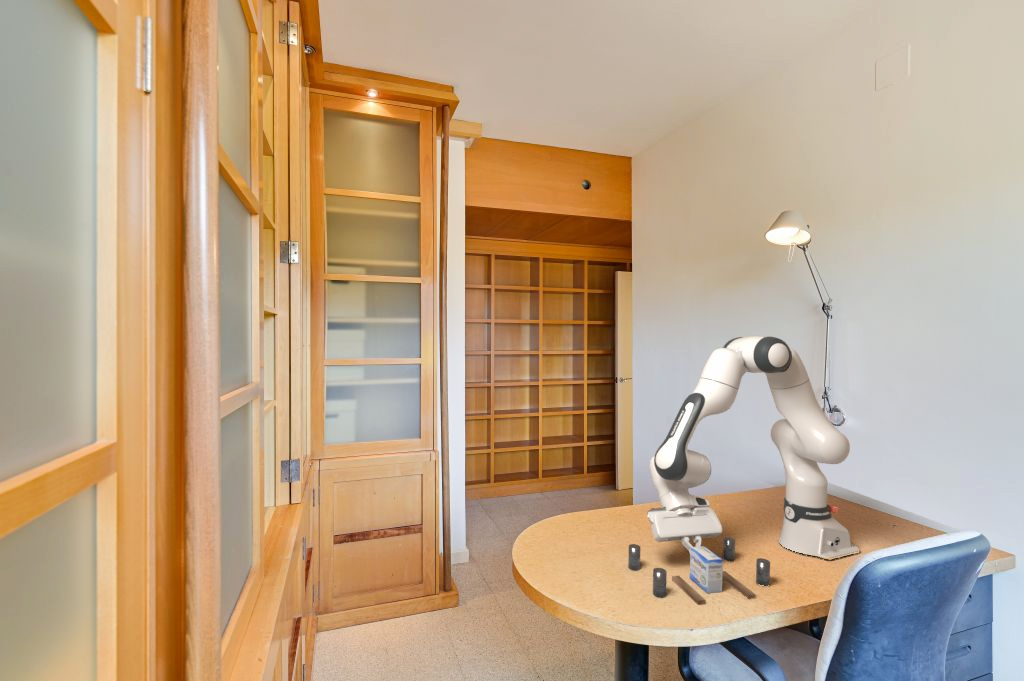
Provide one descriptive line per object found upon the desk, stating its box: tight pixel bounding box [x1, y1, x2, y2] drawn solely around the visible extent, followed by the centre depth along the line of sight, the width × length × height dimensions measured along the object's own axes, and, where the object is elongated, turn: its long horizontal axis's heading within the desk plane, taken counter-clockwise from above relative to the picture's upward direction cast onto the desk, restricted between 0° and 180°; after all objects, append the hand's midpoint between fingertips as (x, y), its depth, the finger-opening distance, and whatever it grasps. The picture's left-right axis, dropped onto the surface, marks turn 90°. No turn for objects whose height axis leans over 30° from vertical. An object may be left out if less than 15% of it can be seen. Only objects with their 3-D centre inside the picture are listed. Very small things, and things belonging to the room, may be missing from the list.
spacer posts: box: [627, 536, 771, 599], centre depth 132 cm, size 33×17×6 cm, turn 102°
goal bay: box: [671, 570, 757, 606], centre depth 125 cm, size 16×12×1 cm
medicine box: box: [689, 545, 724, 594], centre depth 127 cm, size 8×4×9 cm, turn 13°
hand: (696, 554), depth 133 cm, fingers closed
